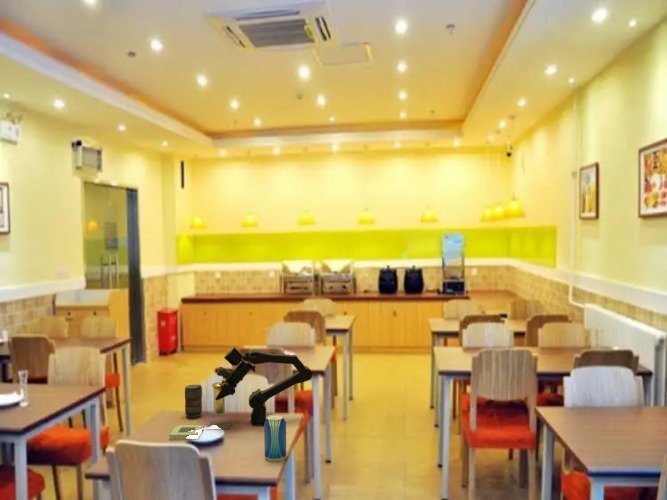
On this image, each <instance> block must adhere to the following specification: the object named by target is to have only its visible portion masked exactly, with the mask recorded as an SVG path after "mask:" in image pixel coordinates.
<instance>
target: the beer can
mask: <svg viewBox="0 0 667 500" xmlns="http://www.w3.org/2000/svg"><path fill="white" fill-rule="evenodd" d="M263 426H264V427H263V428H264V429H263V431H264V433H263V435H264V436H263V437H264V438H263V439H264V440H263V441H264V443H263V444H264V445H263V446H264V448H263V450H264V457H265V459H266V460H267V461H268V462H275V463H276V462H280V461H283V460H285V458H286V456H287V421H286V420H285V418H284V415H283V414H270V415H266V421H265V423H264V425H263Z"/></svg>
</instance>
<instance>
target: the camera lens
mask: <svg viewBox="0 0 667 500" xmlns="http://www.w3.org/2000/svg"><path fill="white" fill-rule="evenodd" d="M184 399H185V401H184V410H185V411H184V412H185V417H186V419H188V420H197V419H199V418H201V417H202V413H203V403H202V402H203V401H202V400H203V387H202V385H201V384H189V385H186V386H185V388H184Z"/></svg>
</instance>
